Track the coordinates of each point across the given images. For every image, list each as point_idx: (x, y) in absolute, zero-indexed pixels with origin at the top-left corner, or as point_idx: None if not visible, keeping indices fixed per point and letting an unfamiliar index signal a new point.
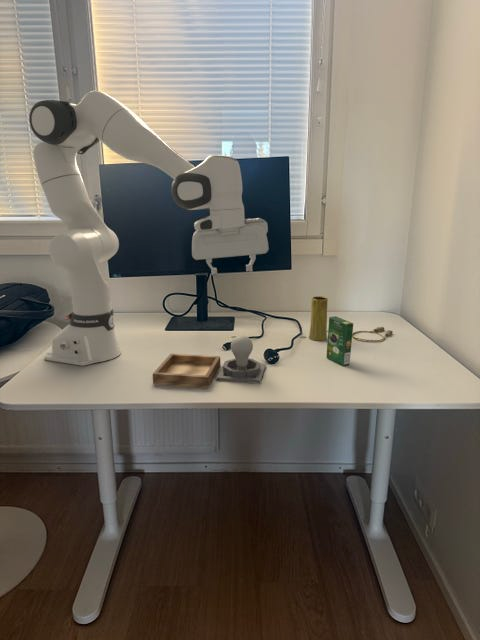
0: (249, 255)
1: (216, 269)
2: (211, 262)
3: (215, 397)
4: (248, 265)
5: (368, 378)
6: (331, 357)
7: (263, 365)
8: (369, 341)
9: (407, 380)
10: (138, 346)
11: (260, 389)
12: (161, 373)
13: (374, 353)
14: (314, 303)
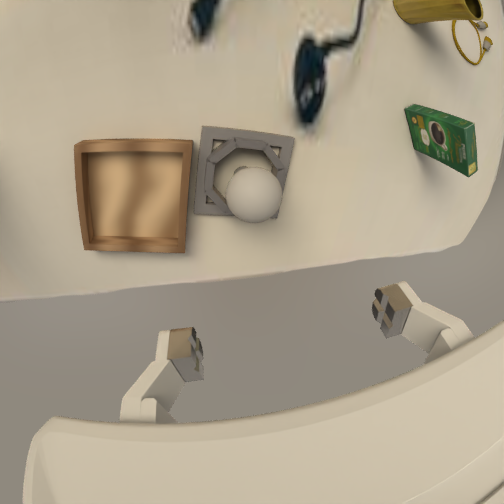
0: (444, 351)
1: (200, 375)
2: (174, 420)
3: (203, 269)
4: (396, 333)
5: (423, 193)
6: (410, 123)
7: (289, 148)
8: (466, 59)
9: (450, 200)
10: (3, 71)
11: (273, 237)
12: (97, 247)
13: (460, 105)
14: (458, 5)
